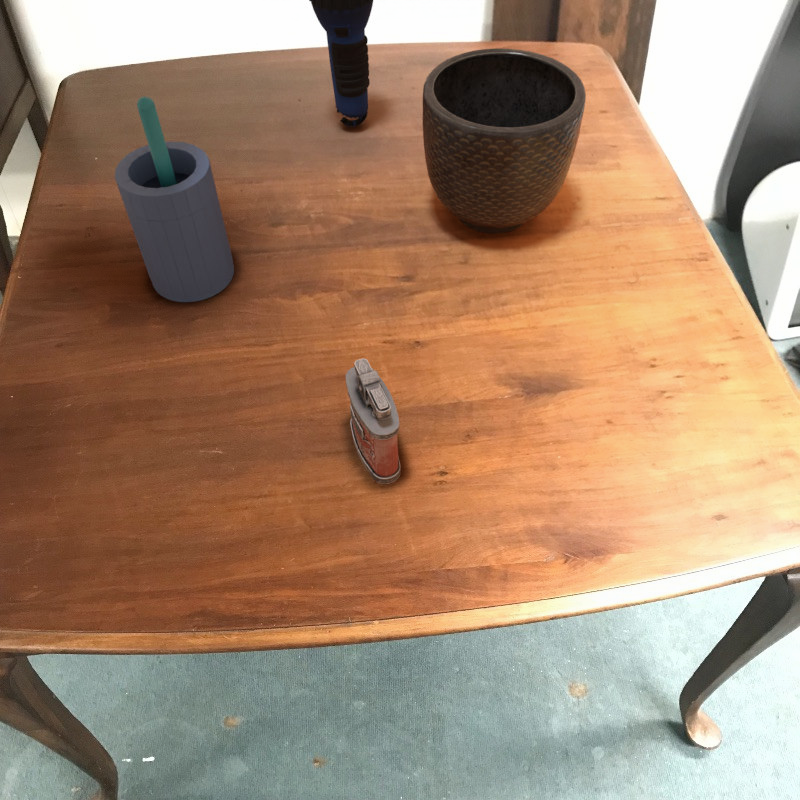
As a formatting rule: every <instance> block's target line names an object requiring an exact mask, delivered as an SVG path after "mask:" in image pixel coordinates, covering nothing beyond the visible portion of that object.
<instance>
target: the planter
mask: <svg viewBox="0 0 800 800" xmlns="http://www.w3.org/2000/svg"><path fill="white" fill-rule="evenodd" d="M586 100H587V93H586V87H585V85H584V82H583V81H582V79H581V78H580V77H579V76H578V74H577V73H576V72H575V71H574V70H573V69H571V68H570V67H569V66H567V65H566V64H564V63H563V62H561V61H559V60H557V59H556V58H555V59H554V58H553V57H550V56H547V55H544V54H541V53H538V52H534V51H529V50H524V49H517V48H499V47H497V48H482V49H477V50H471V51H466V52H463V53H459V54H456V55H454V56H452V57H448V58H447V59H445V60H443V61H442V62H441V63H439V64H437V66H435V67H434V68H433V69H432V70H431V71H430V72H429V73H428V75H427V76H426V78H425V81H424V84H423V88H422V138H423V150H424V158H425V165H426V170H427V175H428V178H429V179H428V180H429V182H430V185H431V187H432V189H433V192H434V194H435V195H436V197H437V199H438V200H439V202H440V203H441V204H442V205H443V206H444V208H445V209H447V210H448V211H449V212H450V214H452V215H454V216H455V217H456V218H458V220H459V222H460V223H462V224H463V225H464V226H466V227H467V228H469V229H471V230H473V231H477V232H478V233H479V232H480V233H484V234H495V235H497V234H505V233H509V232H513V231H515V230H517V229H518V228H520V227H522V226H523V225H524V224H526V223H527V222H529V221H531V220H532V219H534V218H536V217H538V216H539V215H540V214H542V213H543V212H544V211H545V210H547V208H549V207H550V205H551V204H552V203H553V202H554V201H555V199H556V197H557V196H558V195H559V193H560V192H561V189H563V185H564V183H565V181H566V179H567V176H568V173H569V171H570V168H571V165H572V161H573V159H574V155H575V151H576V148H577V144H578V140H579V137H580V132H581V126H582V122H583V117H584V112H585V107H586Z"/></svg>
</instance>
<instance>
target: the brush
mask: <svg viewBox="0 0 800 800" xmlns="http://www.w3.org/2000/svg"><path fill="white" fill-rule="evenodd" d="M136 108H137V111H138V115H139V118H140V122H141V124H142V129H143V133H144V135H145V138H146V141H147V145H149V148H150V152H151V155H152V158H153V162H154V165H155V168H156V171H157V175H158V178H159V181H160V185H161V188H162V187H169V186H172V185H176V184H177V182H176V178H175V175H174V171H173V168H172V164H171V160H170V157H169V153H168V150H167V146H166V143H165V142H166V139H165V137H164V132H163V129H162V124H161V121H160V119H159V114H158V110H157V108H156V103H155V101H154V100H153V98H151V97H149V96H141V97H140V98H138V100H137V102H136Z"/></svg>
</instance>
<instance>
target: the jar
mask: <svg viewBox="0 0 800 800" xmlns="http://www.w3.org/2000/svg"><path fill="white" fill-rule="evenodd" d="M165 143H166V146H167V150H168V153H169V157H170V160H171V164H172V168H173V171H174V175H175V178H176V182H177V184H176V185H172V186H169V187H162V188H161V185H160V181H159V178H158V175H157V171H156V168H155V165H154V162H153V158H152V155H151V152H150V148H149V145H148V144H146V145H143V146H139V147H138V148H137V149H134V150H132V151H130V152H129V153H128V154H126V155H125V156H124V157H123V158H121V160H120V161H119V162H118V164H117V165H116V167H115V170H114V180H115V183H116V186H117V189H118V192H119V194H120V197H121V200H122V203H123V205H124V208H125V212H126V214H127V217H128V221H129V223H130V226H131V228H132V231H133V235H134V238H135V239H136V242H137V246H138V248H139V251H140V253H141V257H142V259H143V262H144V265H145V268H146V271H147V274H148V276H149V280H150V281H151V284H152V287H153V288H154V289H153V290H155V291H156V293H157V294H158V295H160V296H161V297H163V298H164V299H165V300H169V301H172V302H177V303H195V302H200V301H204V300H207V299H209V298H213V297H214V296H217V295H218V294H219V293H221V292H222V291H224V289H226V288H227V287H228V285H230V284H231V281H232V280H233V277H234V275H235V264H234V261H233V260H234V259H233V254H232V251H231V246H230V242H229V238H228V233H227V230H226V224H225V220H224V216H223V212H222V208H221V204H220V199H219V196H218V190H217V188H216V187H217V186H216V183H215V178H214V174H213V170H212V169H213V168H212V166H211V161H210V158H209V156H208V155H207V153H206V152H205V150H203V149H202V148H200V147H199V146H196V145H195V144H192V143H189V142H185V141H173V140H170V141H165Z"/></svg>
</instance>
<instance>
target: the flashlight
mask: <svg viewBox="0 0 800 800" xmlns="http://www.w3.org/2000/svg"><path fill="white" fill-rule="evenodd" d="M308 1H309V2H310V3H311V6H312V9H313V12H314V14H315V16H316V18H317V20H318V23H319V24H320V26H321V28H323V29H324V31H325V32H326V40H327V41H326V42H327V49H328V58H329V66H330V75H331V80H332V89H333V94H334V102H335V109H336V113H339V114H341V115H342V116H343V117H341V119H340V120H339V122H341V123H342V125H344V126H347V127H349V128H350V127H351V128H353V127H358V126H360V125H362V124H363V123H364V122H365V121H366V119H367V117H368V113H369V112H368V110H369V94H368V93H369V92H368V90H369V89H368V88H369V87H370V85H371V83H370V78H369V77H370V63H369V57H370V56H369V46H368V40H369V39H368V37H367V35H366V31H365V30H366V27H367V26H368V23H369V19H370V17H371V13H372V9H373V7H374V6H373V5H374V0H308ZM349 118H350V119H349ZM352 119H353V120H352Z"/></svg>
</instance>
